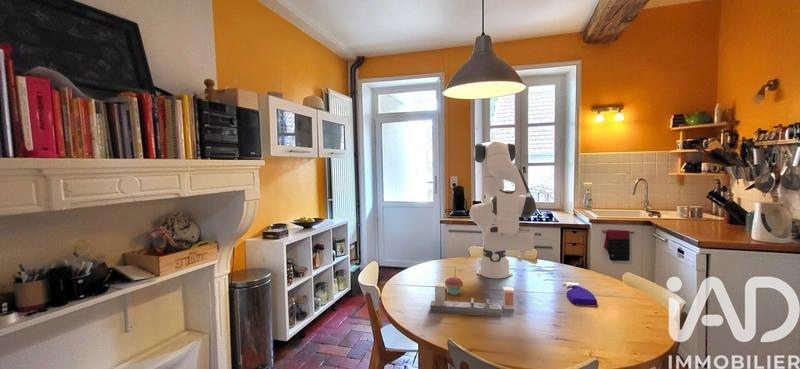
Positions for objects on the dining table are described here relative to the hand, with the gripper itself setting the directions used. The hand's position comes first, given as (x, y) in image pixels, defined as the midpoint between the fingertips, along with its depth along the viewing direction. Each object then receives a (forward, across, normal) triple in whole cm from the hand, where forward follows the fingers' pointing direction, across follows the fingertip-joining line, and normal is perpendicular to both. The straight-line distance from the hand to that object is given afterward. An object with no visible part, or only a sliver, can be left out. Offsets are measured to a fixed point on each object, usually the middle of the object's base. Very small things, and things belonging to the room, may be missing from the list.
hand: (508, 260), depth 141 cm
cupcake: (+20, +23, -14) cm, 33 cm away
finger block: (+20, 0, 0) cm, 20 cm away
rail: (+20, +18, +6) cm, 28 cm away
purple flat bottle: (+20, -33, -18) cm, 43 cm away
